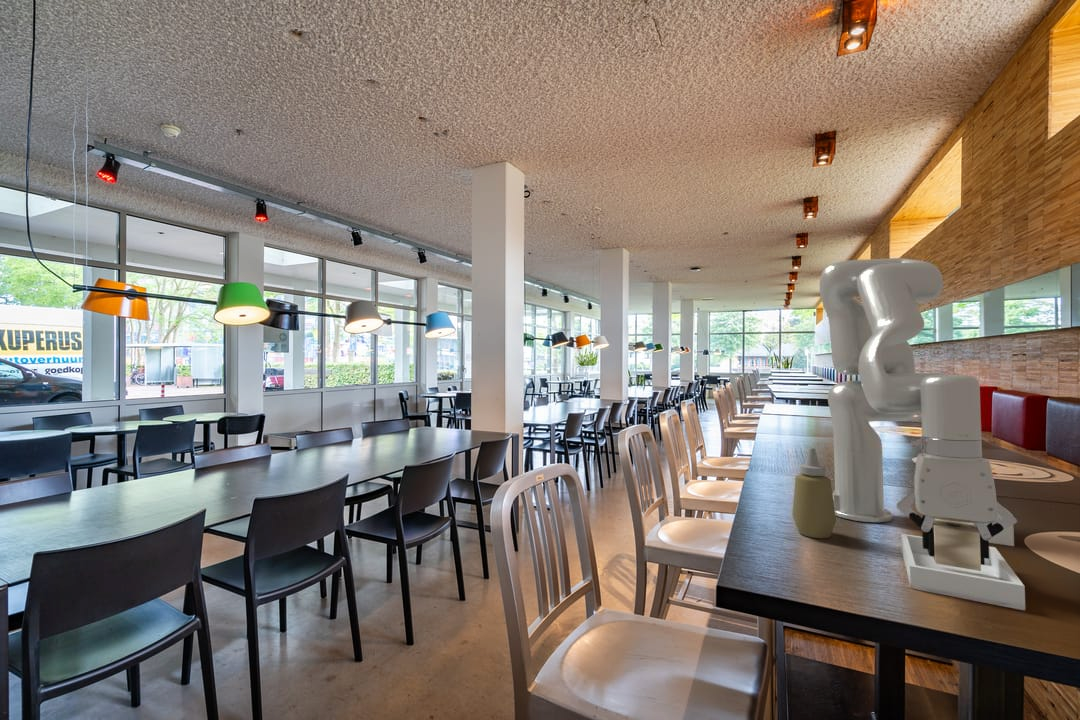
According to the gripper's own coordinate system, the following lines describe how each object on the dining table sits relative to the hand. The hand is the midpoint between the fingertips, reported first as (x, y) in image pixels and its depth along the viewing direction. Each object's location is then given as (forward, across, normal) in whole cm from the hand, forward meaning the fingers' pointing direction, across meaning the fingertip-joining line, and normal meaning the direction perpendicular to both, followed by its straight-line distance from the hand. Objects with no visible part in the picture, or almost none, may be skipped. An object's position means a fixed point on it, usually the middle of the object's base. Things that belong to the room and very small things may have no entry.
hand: (954, 556), depth 78 cm
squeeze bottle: (+4, -21, +11) cm, 24 cm away
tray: (+3, 0, 0) cm, 3 cm away
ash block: (+1, 0, 0) cm, 1 cm away
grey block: (+3, +9, +26) cm, 28 cm away
